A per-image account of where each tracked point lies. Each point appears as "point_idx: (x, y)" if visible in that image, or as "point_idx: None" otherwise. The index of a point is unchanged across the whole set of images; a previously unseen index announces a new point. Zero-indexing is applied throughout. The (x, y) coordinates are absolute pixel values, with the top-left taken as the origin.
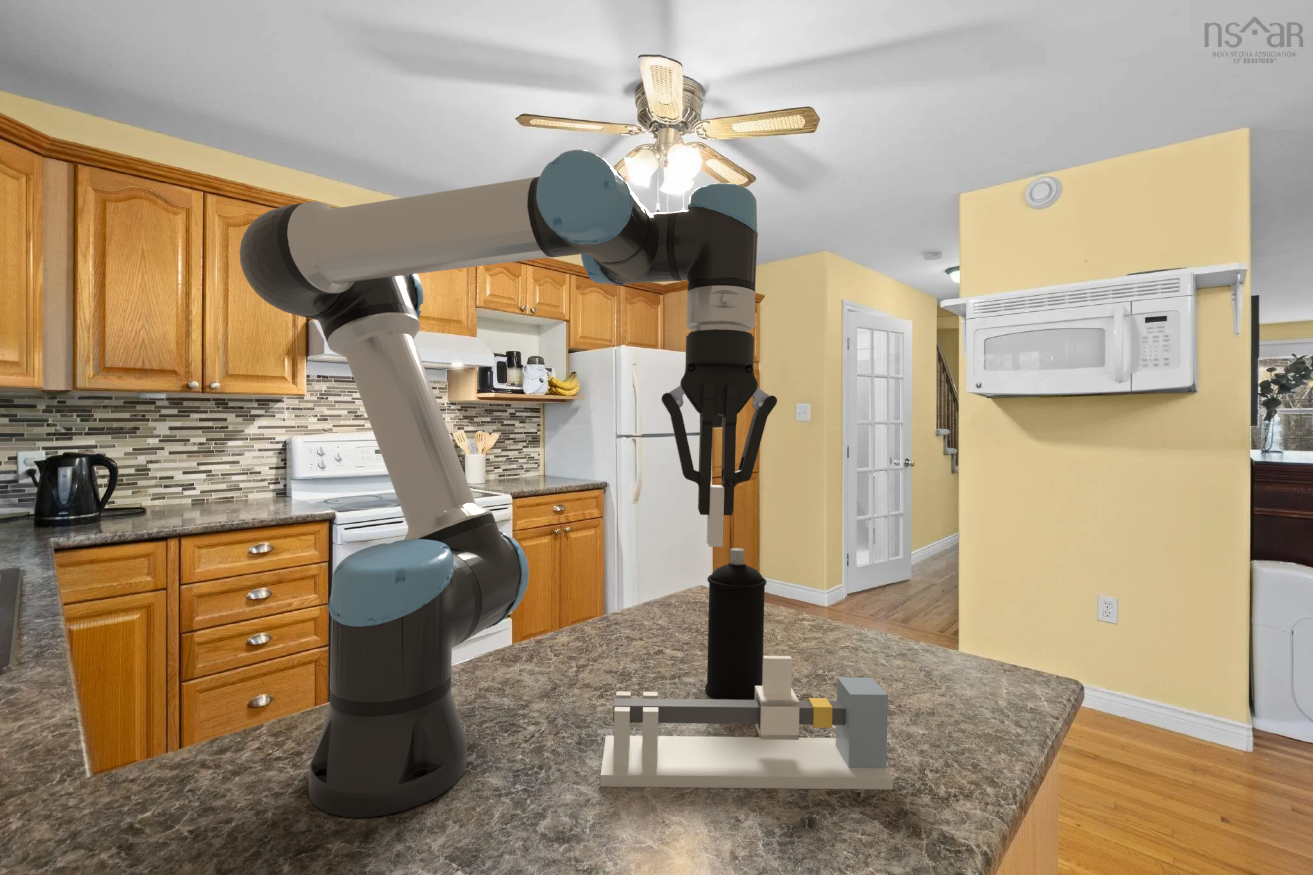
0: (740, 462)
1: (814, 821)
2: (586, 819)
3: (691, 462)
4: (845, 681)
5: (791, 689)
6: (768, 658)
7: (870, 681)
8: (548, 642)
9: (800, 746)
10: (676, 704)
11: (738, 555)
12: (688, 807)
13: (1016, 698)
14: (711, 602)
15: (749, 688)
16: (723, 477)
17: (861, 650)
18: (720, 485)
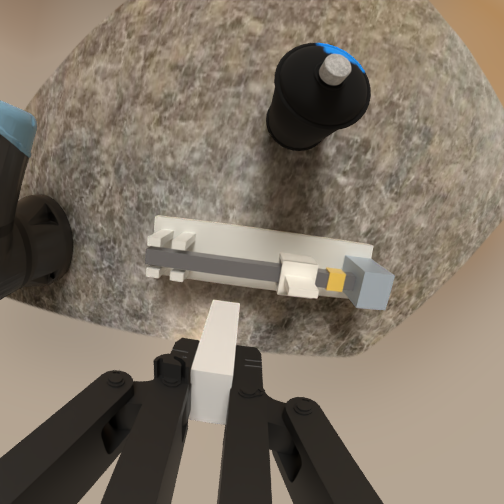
0: (297, 442)
1: (290, 322)
2: (148, 302)
3: (118, 452)
4: (367, 282)
5: (316, 272)
6: (292, 295)
7: (388, 283)
8: (126, 10)
9: (316, 252)
10: (200, 268)
11: (335, 79)
12: (212, 300)
13: (499, 190)
14: (276, 98)
15: (307, 146)
16: (224, 435)
17: (444, 68)
18: (228, 383)
